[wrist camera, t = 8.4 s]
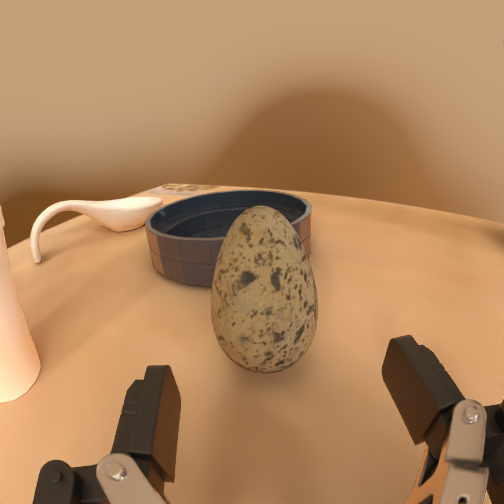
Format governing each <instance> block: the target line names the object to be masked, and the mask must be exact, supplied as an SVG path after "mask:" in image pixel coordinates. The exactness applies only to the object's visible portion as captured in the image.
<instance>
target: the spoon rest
mask: <svg viewBox="0 0 504 504" xmlns="http://www.w3.org/2000/svg"><path fill="white" fill-rule="evenodd" d="M162 202H163V200H162V199H161V198H158V197H132V198H124V199H118V200H110V201H99V202H98V201H81V200H69V201H63V202H59V203H56V204H54V205H52V206H50V207H49V208H47V209H46V210H45V211H43V212H42V214H40V216H39V217H38V218H37V220H36V221H35V223H34V225H33V228H32V231H31V237H30V246H31V252H32V256H33V259H34V261H35V263H39V262H40V261H41V254H40V249H39V235H40V232H41V230H42V227H43V226H44V224H45V223H46V222H47V221H48V220H49V219H50V218H51V217H52V216H54V215H55V214H57V213H59V212H61V211H66V210H73V211H77V212H80V213H82V214H84V215H86V216H88V217H90V218H92V219H93V220H95V221H97V222H98V223H100V224H102V225H103V226H105V227H107V228H110V229H111V230H112V231H116V232H121V231H128V230H133V229H136V228H139V227H141V226H143V225H144V224H145V220H146V219H147V218H148V216H149V215H150V214H151V213H152V212H154V211H156V210H157V209H159V208H160V207H161V205H162Z"/></svg>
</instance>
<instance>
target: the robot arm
mask: <svg viewBox="0 0 504 504" xmlns="http://www.w3.org/2000/svg"><path fill="white" fill-rule="evenodd" d="M382 377H383V380H384V383H385V385H386V386H387V388H388V390H389V392H390V394H391V396H392V398H393V400H394V402H395V404H396V406H397V408H398V410H399V412H400V414H401V416H402V419H403V421H404V423H405V425H406V427H407V429H408V431H409V433H410V435H411V437H412V439H413V442H414V444H415V445H417V444H420V443H422V442H426V444H427V447H426V449H425V452H424V456H423V459H422V463H421V466H420V469H419V472H418V476H417V479H416V482H415V485H414V487H413V490H412V492H411V494H410V495H409V497H408V498H407V500H406V501H405V503H404V504H483V501H484V497H485V492H486V489H487V492H488V494H489V497H490V500H491V502H492V504H504V400H503V401H502V403H501V404H497V405H491V406H484V407H483V406H482V405H481V404H480V403H479V402H477V401H475V400H470V399H467V400H466V399H465V398H464V396H463V395H462V393H461V392H460V390H459V389H458V387H457V386H456V384H455V383H454V382H453V380H452V379H451V377H450V376H449V374H448V373H447V371H445V369H444V367H443V366H442V364H441V363H439V360H438V359H437V357H436V356H435V354H434V353H433V352H432V351H431V350H429V349H428V348H426V347H425V346H423V345H418V344H417V342H416V341H415V340H414V338H413V337H412V336H411V335H405V336H401V337H397V338H393V339H391V340H390V342H389V345H388V348H387V352H386V355H385V359H384V362H383V365H382ZM180 411H181V397H180V392H179V389H178V387H177V384H176V381H175V379H174V376H173V373H172V370H171V368H170V366H169V365H152V366H148V367H147V369H146V373H145V377H144V380H135V381H134V382H133V384H132V385H131V386H130V387H129V389H128V390H127V393H126V397H125V400H124V405H123V408H122V411H121V412H122V414H121V415H120V419H119V423H118V427H117V431H116V435H115V439H114V443H113V447H112V451H111V453H110V454H109V455H107V456H105V457H104V458H103V459H101V461H100V462H99V463H98V464H96V465H91V466H83V467H73V468H71V467H70V466H69V465H68V464H67V463H65V462H64V461H61V460H52V461H49V462H47V463H46V464H45V465H44V466H43V467H42V468H41V470H40V473H39V478H38V482H37V486H36V491H35V495H34V500H33V504H172V502H171V501H170V500H169V499H168V497H167V496H166V495H165V493H164V482H174V477H175V464H176V452H177V441H178V430H179V420H180Z"/></svg>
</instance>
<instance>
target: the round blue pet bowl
mask: <svg viewBox="0 0 504 504" xmlns="http://www.w3.org/2000/svg"><path fill="white" fill-rule="evenodd" d="M254 206H267V207H271V208H273V209H275V210H277V211H278V212H280V213H281V214H282V215H283V216H284V217H285V218H286V219H287V220H288V221H289V222H290V224H291V225H292V227H293V228H294V230H295V231H296V233H297V235H298V236H299V238H300V240H301V242H302V244H303V247H304V249H305V252H306V254H307V257H308V256H309V255H310V253H311V246H312V205H311V204H310V203H309V202H308V201H307V200H306V199H304V198H301V197H299V196H296V195H294V194H289V193H284V192H279V191H269V190H232V191H221V192H213V193H207V194H201V195H196V196H192V197H188V198H185V199H181V200H178V201H175V202H173V203H170V204H167V205H165V206H162V207H161V208H159V209H157V210H156V211H154V212H152V213H151V214H150V215H149V216H148V218H147V219H146V220H145V227H146V232H147V237H148V242H149V247H150V252H151V257H152V261H153V266H154V268H155V269H156V270H158V271H159V272H160V273H161V274H162V275H163V276H165V277H166V278H169V279H172V280H175V281H178V282H181V283H184V284H189V285H200V286H212V283H213V277H214V272H215V267H216V263H217V259H218V255H219V252H220V249H221V246H222V243H223V241H224V239H225V237H226V235H227V232H228V231H229V229H230V227H231V226H232V224H233V223H234V221H235V220H236V219H237V218H238V216H239V215H241V214H242V213H243V212H244V211H246V210H247V209H249V208H251V207H254Z"/></svg>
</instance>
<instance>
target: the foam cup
mask: <svg viewBox="0 0 504 504" xmlns="http://www.w3.org/2000/svg"><path fill="white" fill-rule="evenodd" d="M4 225H5V222H4V219H3V215H2V210H1V206H0V403H1V402H8V401H13V400H15V399H16V398H18V397H20V396H21V395H23V394H25V393H26V392H27V391H28V390H29V388H30V387H31V386H32V385H33V384H34V383H35V381H36V380H37V377H38V374H39V372H40V369H41V366H40V359H39V356H38V354H37V350H36V348H35V345H34V343H33V340H32V337H31V334H30V332H29V329H28V326H27V323H26V320H25V317H24V314H23V311H22V308H21V305H20V301H19V298H18V294H17V291H16V287H15V283H14V279H13V275H12V271H11V267H10V262H9V258H8V253H7V248H6V243H5V237H4V231H3V226H4Z"/></svg>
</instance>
